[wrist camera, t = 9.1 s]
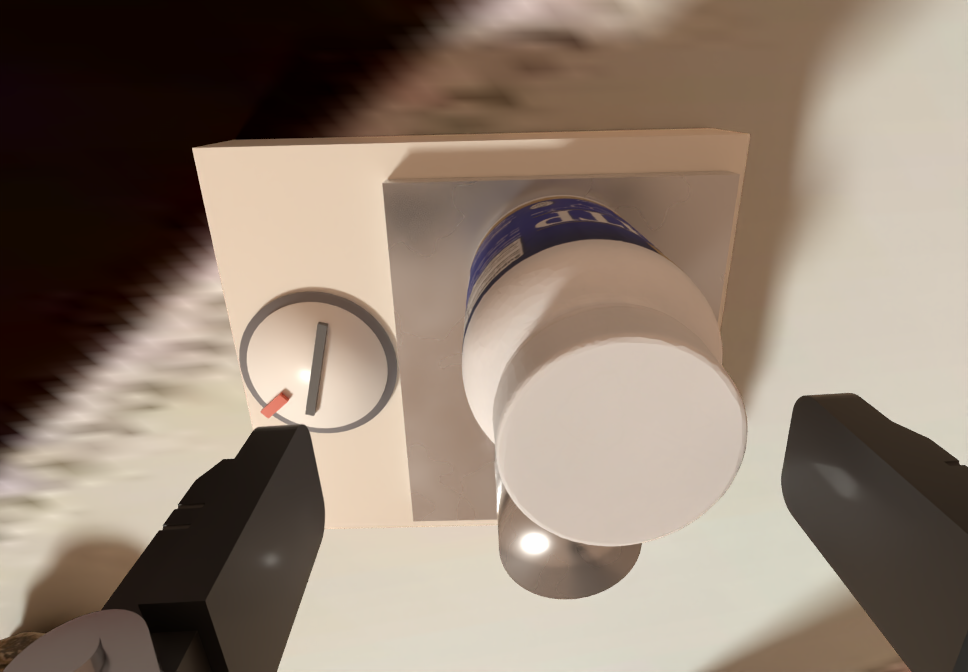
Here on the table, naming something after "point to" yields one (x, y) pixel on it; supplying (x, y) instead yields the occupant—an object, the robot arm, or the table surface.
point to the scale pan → (443, 293)
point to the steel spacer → (555, 556)
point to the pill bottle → (597, 376)
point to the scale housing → (372, 277)
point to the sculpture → (15, 646)
